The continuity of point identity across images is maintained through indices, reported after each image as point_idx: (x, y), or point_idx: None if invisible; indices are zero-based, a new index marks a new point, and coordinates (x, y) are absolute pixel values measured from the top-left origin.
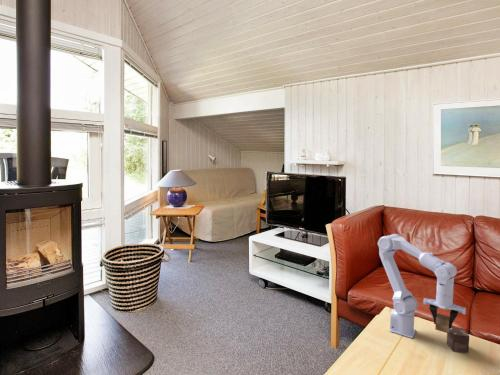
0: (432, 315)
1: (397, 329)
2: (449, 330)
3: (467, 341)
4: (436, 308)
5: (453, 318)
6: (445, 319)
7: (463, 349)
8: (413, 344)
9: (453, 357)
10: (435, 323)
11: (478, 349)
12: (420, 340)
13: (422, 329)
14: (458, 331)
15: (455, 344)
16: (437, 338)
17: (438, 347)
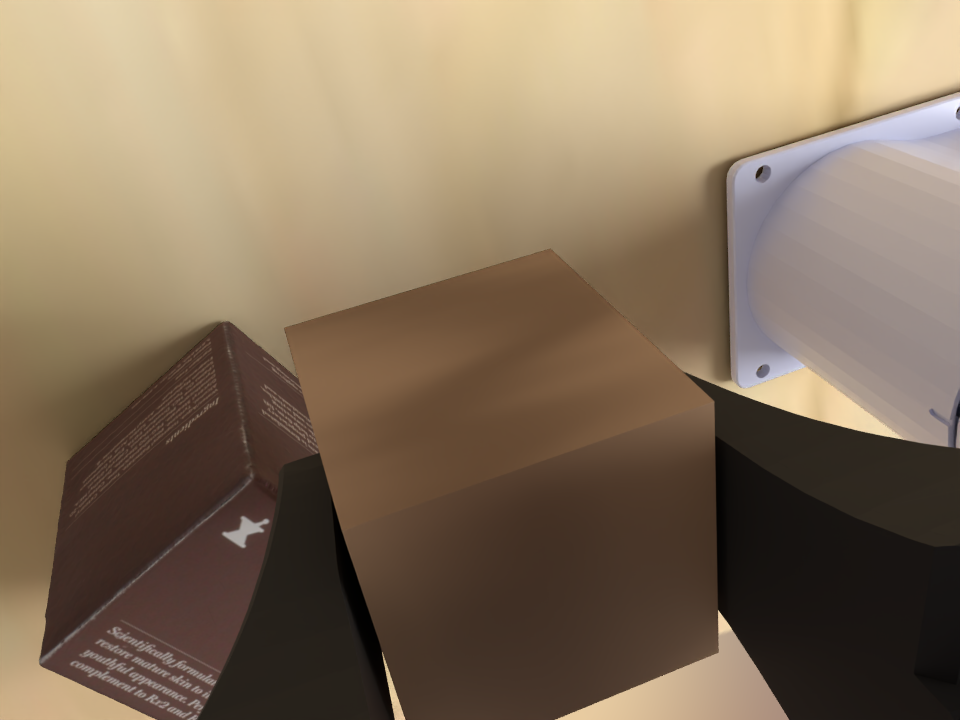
0: (824, 423)
1: (941, 148)
2: None
3: (67, 565)
4: (926, 697)
5: (232, 714)
6: (468, 545)
7: (113, 438)
8: (678, 20)
9: (135, 168)
10: None
11: (37, 633)
12: (630, 214)
13: None
14: None
15: (204, 396)
16: None
17: (399, 250)
